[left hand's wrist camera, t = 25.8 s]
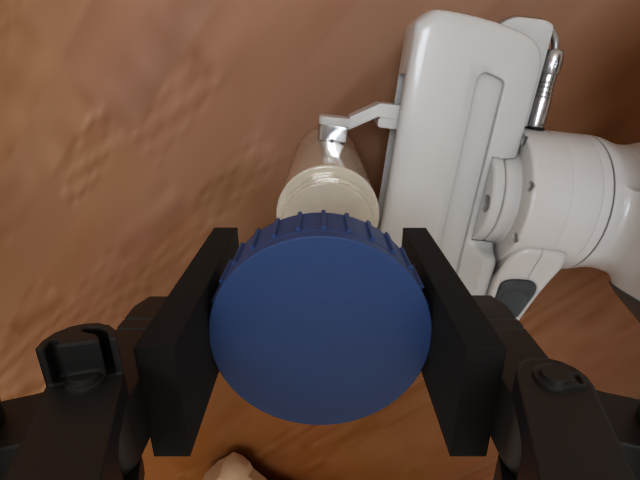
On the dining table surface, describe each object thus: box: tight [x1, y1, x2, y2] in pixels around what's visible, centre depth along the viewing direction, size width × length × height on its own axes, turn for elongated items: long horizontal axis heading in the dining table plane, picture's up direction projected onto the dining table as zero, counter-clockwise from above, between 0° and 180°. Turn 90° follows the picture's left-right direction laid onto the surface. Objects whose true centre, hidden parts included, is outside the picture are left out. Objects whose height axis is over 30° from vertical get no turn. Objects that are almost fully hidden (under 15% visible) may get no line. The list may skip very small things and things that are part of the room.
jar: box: [276, 129, 379, 228], centre depth 26 cm, size 5×5×16 cm
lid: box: [209, 210, 432, 425], centre depth 11 cm, size 6×6×2 cm
